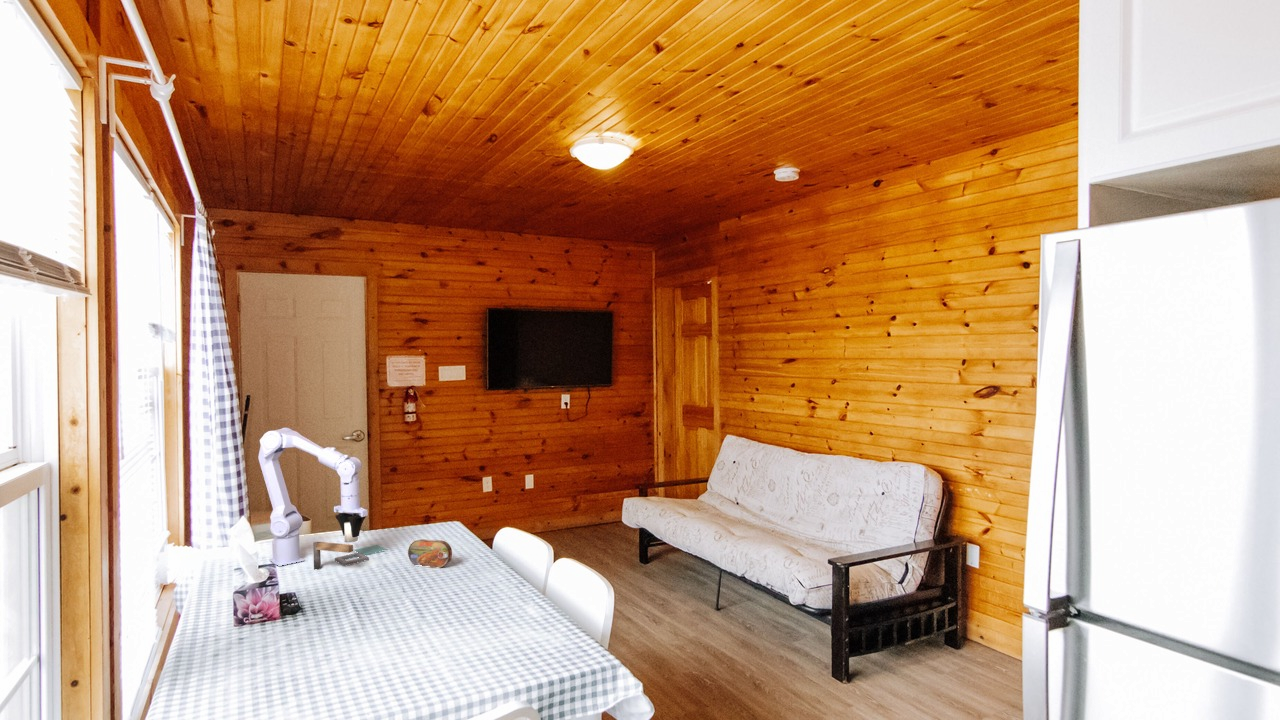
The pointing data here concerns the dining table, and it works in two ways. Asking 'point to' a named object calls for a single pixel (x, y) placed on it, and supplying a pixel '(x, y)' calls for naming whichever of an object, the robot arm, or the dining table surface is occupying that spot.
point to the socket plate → (344, 562)
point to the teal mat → (370, 549)
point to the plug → (349, 533)
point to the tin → (430, 553)
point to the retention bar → (328, 547)
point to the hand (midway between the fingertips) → (351, 535)
